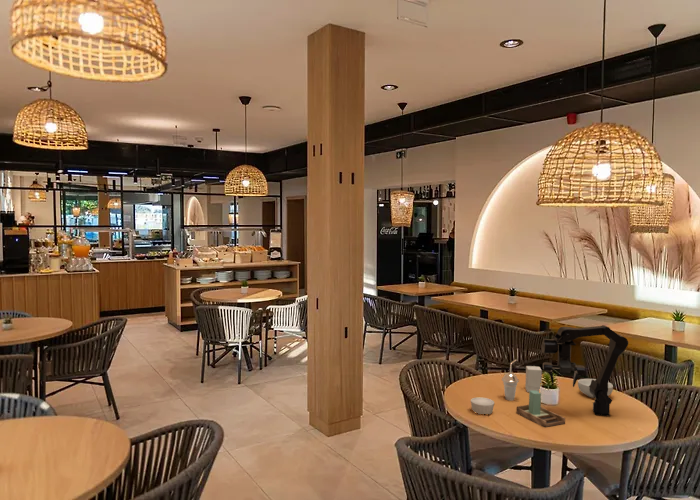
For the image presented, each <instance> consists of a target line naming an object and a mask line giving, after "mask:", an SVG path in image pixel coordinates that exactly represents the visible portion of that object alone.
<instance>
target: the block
mask: <svg viewBox="0 0 700 500" xmlns="http://www.w3.org/2000/svg"><path fill="white" fill-rule="evenodd" d="M528 394H529V395H528V397H529V398H528V405H529V412H530V413H532V414H533V415H540V407H542V405H541V404H542V403H541V402H542V392H541V393H539V392H538V391H536V390H535V391H529V392H528Z"/></svg>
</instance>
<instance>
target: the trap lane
mask: <svg viewBox="0 0 700 500" xmlns="http://www.w3.org/2000/svg"><path fill="white" fill-rule="evenodd" d="M515 412H516V414H517V415H520V416H521V417H523V418H524V419H527V420H529V421H531V422H533V423H535V424H537V425H539V426H541V427H542V428H550V427H555V426H562V425H565V424H566V417H563V416H562V415H560V414H559V413H555V412H553V411H551V410H549V409H547V408H545V407H543V406H541V407H540V415H533V414H532V413H530V412H529V404H525V405H524V404H523V405H519V406H516V411H515Z"/></svg>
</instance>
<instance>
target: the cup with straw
mask: <svg viewBox="0 0 700 500" xmlns="http://www.w3.org/2000/svg"><path fill="white" fill-rule="evenodd" d="M516 361H517V359H514V360H512V361H511V362H510V363H509V364H510V365H509V366H510V367H509V372H507V373H505V374H504V376H503V377H501V381H502V383H503V386H504V387H503V388H504V389H503V390H504V399H505V400H507V401H515V397H516V390H517V386H518V383H520V380H519V378H518V376H517V375H516V374H515V373H513V372H512V365H513V364H514V363H515V362H516Z"/></svg>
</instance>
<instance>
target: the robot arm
mask: <svg viewBox="0 0 700 500" xmlns="http://www.w3.org/2000/svg"><path fill="white" fill-rule="evenodd" d="M558 328H559V329H558V330H557V333H556V334H555V335H554V336H553V338H552V339H550V338H548V339H547V338H543V339H542V342H541V346H540V347H541V348H540V349H541V352H542V354H557V364H552V362H546V361H545V362H543V363H542V369H543V370H542V371H545V372H546V373H548V375H549V378H550V380H551V385H554V383H555V382H554V372H553V370H559V373H566V374H571V373H572V371H573V372H574V373H573V378H572V379H573V380H572V387H573V388H574V387H575V385H576V383H577V382H578V380H579V377H580V376H583V375H586V372H587V369H586V367H585V366H584V365H579V364H576V363H575V362H571V361H572V358H571V357H572V346H577V343H575V342H574V340H576V339H579V338H583V337H594V336H605V337H606V338H607V339H608V340H609V343H608V352H607V355H606V358H605V360H604V362H603V365H602V368H601V370H600V372H599V373H598V377H597V378H595V379H596V380H595V381H594V380H593V379H594V378H591V379H592V381H591V384H590V386H589V387H590V389H589V391H590V393H591V394H592V395H593V397H594V398H593V399H594V401H593V402H592V412H593V413H594V415H595V416H604V417H611V415H610V407H611V406H610V405H611V404H612V401H613V399H612V398H611V397H610V395H609V396H608V395H607V393H608V382H609V381H610V379H611V377H612V374H613V371H614V369H615V366H616V365H617V362H618V359H619V356H620V355H622V354H623V353H624V352H625V351H626V349H627V347H628V346H629V341H628V339H627V338H626V337H625V336H623V335H621V334H619V333H617V332H616V331H613V330H612V329H611V328H610V326H607V325H604V324H602V325H599V326H598V325H597V326H586V327H570V326H569V327H568V326H560V327H558Z"/></svg>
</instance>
